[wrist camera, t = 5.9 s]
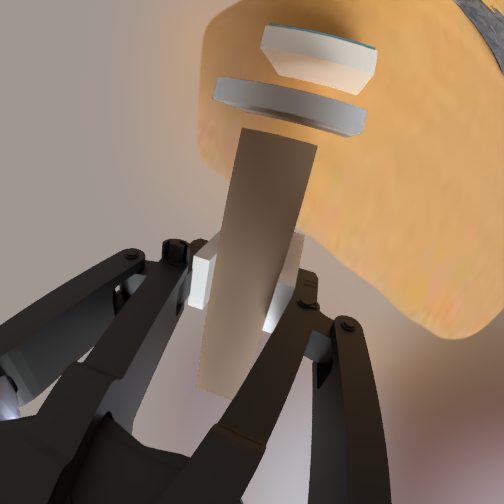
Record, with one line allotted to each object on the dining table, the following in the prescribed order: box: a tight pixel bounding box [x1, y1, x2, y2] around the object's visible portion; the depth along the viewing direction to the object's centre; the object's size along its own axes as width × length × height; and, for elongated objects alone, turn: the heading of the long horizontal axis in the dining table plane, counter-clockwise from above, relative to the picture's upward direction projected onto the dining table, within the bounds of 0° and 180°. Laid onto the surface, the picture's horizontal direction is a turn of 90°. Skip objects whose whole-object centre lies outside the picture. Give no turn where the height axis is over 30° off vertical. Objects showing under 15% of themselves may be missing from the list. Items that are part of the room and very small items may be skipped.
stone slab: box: [454, 0, 504, 75], centre depth 12 cm, size 18×2×10 cm
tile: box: [260, 24, 378, 95], centre depth 18 cm, size 8×2×9 cm, turn 78°
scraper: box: [196, 77, 367, 400], centre depth 15 cm, size 6×18×6 cm, turn 168°
